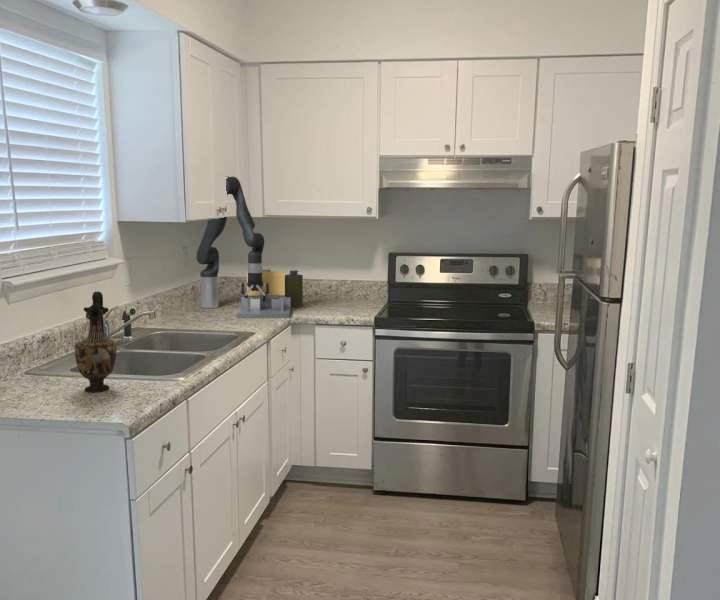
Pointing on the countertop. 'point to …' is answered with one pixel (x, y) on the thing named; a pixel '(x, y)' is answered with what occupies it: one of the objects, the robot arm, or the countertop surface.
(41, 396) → the countertop surface
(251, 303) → the silver jaw
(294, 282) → the canister
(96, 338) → the vase
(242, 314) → the housing base
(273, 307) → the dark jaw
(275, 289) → the lid
